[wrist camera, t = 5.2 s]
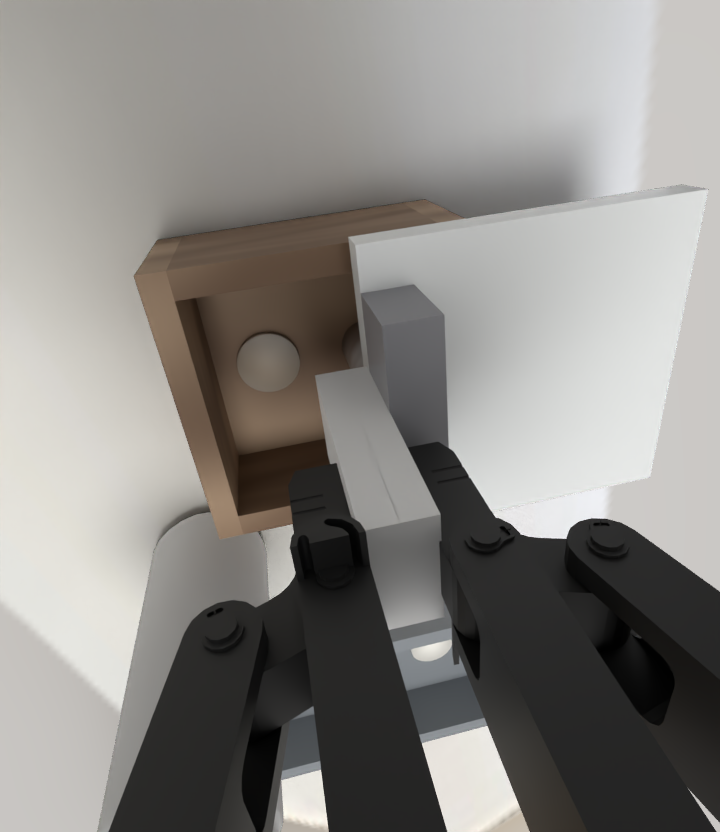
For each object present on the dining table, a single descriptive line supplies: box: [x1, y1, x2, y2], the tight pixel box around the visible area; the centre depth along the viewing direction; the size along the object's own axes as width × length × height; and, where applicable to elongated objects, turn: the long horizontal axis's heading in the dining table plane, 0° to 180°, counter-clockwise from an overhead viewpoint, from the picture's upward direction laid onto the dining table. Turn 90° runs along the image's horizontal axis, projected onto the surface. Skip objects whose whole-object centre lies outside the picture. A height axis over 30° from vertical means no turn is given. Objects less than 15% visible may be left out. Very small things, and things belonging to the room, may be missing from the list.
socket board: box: [281, 602, 487, 780], centre depth 28 cm, size 9×17×4 cm, turn 96°
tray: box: [134, 199, 465, 539], centre depth 18 cm, size 9×9×4 cm
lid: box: [348, 185, 708, 512], centre depth 15 cm, size 9×9×3 cm
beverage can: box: [97, 512, 283, 832], centre depth 19 cm, size 5×5×12 cm
